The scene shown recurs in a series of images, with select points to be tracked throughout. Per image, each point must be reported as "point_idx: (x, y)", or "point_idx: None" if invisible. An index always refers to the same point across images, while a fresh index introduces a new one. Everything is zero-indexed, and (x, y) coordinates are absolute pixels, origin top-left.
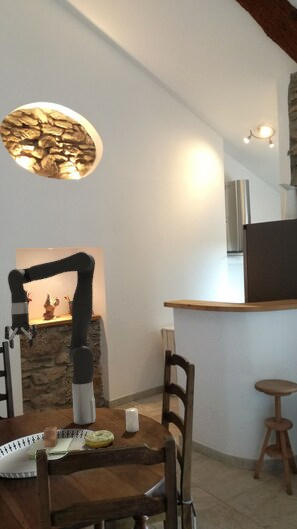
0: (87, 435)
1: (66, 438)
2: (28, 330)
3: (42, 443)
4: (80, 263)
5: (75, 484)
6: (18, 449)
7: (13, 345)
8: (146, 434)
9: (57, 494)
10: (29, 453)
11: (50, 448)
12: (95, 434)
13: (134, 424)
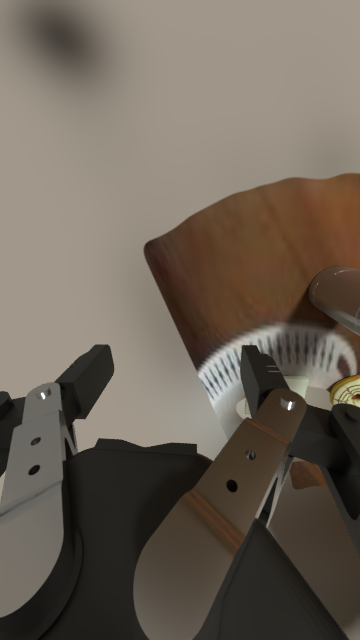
0: (339, 401)
1: (297, 379)
2: (265, 496)
3: None
4: None
5: (310, 469)
6: (225, 392)
7: (100, 358)
8: None
9: (293, 479)
10: (247, 413)
11: None
12: (352, 396)
13: None
